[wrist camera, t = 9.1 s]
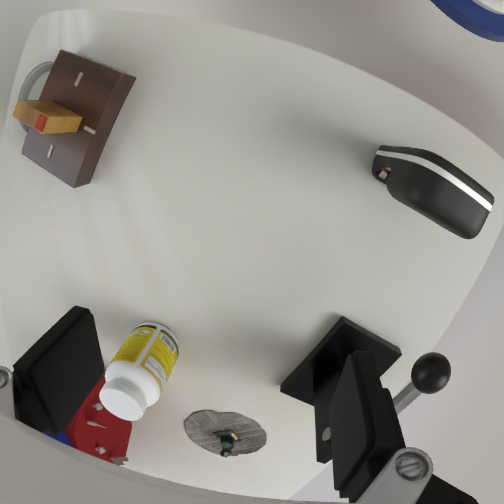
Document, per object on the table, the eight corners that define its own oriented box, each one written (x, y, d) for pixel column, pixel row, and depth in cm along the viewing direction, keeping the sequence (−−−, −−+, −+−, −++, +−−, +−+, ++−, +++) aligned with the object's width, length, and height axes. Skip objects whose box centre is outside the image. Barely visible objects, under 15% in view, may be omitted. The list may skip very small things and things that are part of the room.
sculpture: (281, 430, 40) (260, 477, 36) (257, 421, 48) (239, 461, 44) (206, 400, 38) (182, 451, 34) (193, 394, 46) (173, 436, 42)
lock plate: (76, 53, 25) (59, 48, 22) (137, 78, 26) (122, 73, 23) (37, 150, 29) (19, 153, 26) (90, 183, 30) (73, 189, 27)
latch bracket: (342, 315, 32) (363, 405, 20) (399, 348, 33) (432, 430, 21) (280, 385, 36) (274, 472, 24) (336, 409, 37) (344, 490, 25)
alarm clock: (77, 350, 38) (0, 447, 20) (126, 357, 37) (53, 475, 19) (109, 418, 44) (60, 508, 25) (154, 427, 42) (112, 530, 24)
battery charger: (360, 179, 27) (404, 205, 16) (377, 142, 26) (431, 147, 15) (420, 212, 27) (481, 254, 17) (437, 178, 26) (506, 204, 15)
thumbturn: (45, 114, 24) (10, 116, 20) (51, 100, 24) (16, 99, 19) (76, 132, 25) (41, 134, 20) (83, 116, 24) (47, 116, 19)
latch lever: (426, 338, 21) (441, 364, 18) (449, 352, 22) (464, 378, 19) (326, 431, 26) (328, 459, 23) (352, 440, 26) (355, 466, 23)
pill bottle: (130, 348, 37) (90, 407, 26) (138, 311, 34) (93, 371, 24) (174, 368, 37) (144, 434, 27) (187, 334, 35) (154, 402, 24)
